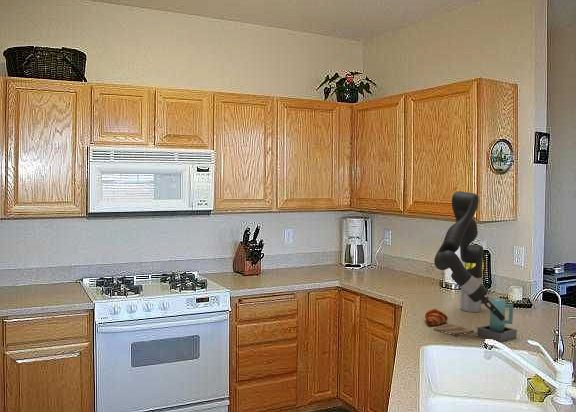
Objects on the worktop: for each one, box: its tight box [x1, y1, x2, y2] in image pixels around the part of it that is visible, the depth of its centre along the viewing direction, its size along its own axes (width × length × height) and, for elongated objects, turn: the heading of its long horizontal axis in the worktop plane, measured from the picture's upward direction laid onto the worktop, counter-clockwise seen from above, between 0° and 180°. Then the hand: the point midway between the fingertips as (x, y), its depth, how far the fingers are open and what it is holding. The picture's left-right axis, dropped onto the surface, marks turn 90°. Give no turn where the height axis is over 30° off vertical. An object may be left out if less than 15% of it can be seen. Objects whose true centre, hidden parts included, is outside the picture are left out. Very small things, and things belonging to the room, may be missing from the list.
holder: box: [476, 324, 518, 343], centre depth 238 cm, size 11×11×4 cm
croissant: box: [424, 308, 448, 326], centre depth 262 cm, size 21×10×8 cm, turn 152°
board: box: [433, 324, 475, 336], centre depth 246 cm, size 12×12×1 cm
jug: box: [488, 297, 514, 332], centre depth 237 cm, size 9×6×16 cm, turn 82°
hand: (501, 317), depth 237 cm, fingers closed on jug, 6 cm apart
